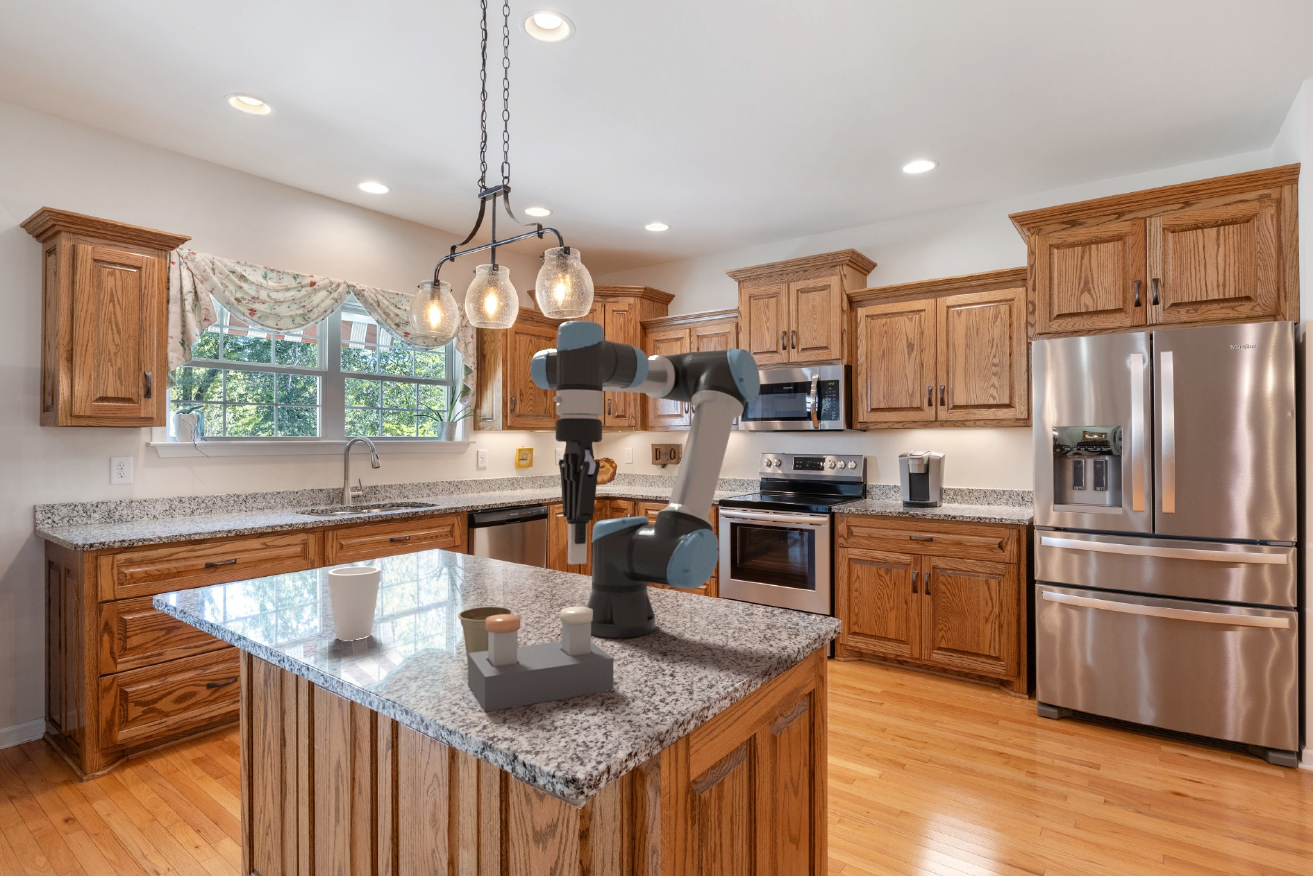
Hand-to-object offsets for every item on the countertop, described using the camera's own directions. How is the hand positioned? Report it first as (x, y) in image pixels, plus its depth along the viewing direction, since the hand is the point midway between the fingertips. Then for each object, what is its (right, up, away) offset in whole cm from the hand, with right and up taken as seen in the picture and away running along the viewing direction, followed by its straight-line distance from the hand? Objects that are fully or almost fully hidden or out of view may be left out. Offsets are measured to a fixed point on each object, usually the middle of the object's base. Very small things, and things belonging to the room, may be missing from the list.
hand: (577, 563), depth 109 cm
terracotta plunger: (-11, -14, -5) cm, 19 cm away
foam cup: (-47, -19, +23) cm, 56 cm away
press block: (-6, -19, -3) cm, 20 cm away
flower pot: (-17, -19, +9) cm, 28 cm away
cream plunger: (0, -15, 0) cm, 15 cm away
